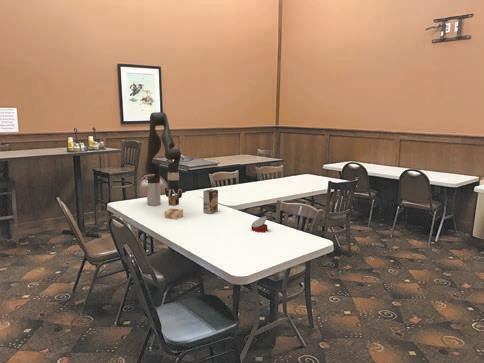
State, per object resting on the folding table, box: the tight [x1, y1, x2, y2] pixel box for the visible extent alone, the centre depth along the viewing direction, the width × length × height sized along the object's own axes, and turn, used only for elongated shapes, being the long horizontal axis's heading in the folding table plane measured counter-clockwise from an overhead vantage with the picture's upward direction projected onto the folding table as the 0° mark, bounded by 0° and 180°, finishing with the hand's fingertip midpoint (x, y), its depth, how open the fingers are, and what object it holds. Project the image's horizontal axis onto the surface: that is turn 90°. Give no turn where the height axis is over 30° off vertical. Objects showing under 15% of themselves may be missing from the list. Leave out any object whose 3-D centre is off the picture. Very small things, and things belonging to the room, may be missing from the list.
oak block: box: [164, 208, 184, 220], centre depth 276 cm, size 9×9×5 cm
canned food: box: [250, 216, 268, 233], centre depth 249 cm, size 11×10×10 cm
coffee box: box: [202, 189, 219, 215], centre depth 290 cm, size 9×6×16 cm
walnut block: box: [167, 194, 180, 207], centre depth 275 cm, size 5×5×6 cm
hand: (173, 203), depth 275 cm, fingers closed on walnut block, 5 cm apart
